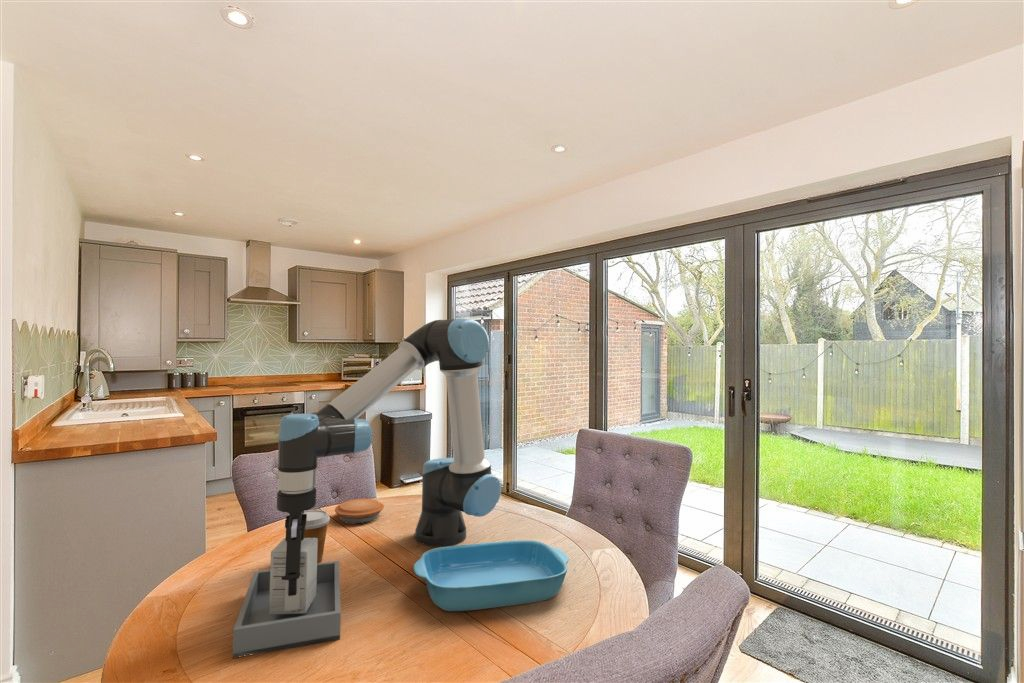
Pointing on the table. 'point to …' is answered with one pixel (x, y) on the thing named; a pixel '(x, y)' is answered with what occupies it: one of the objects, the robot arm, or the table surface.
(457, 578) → the casserole dish
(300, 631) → the bin
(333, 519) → the table surface
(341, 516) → the pie
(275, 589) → the supplement box
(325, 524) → the disposable coffee cup
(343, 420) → the robot arm
